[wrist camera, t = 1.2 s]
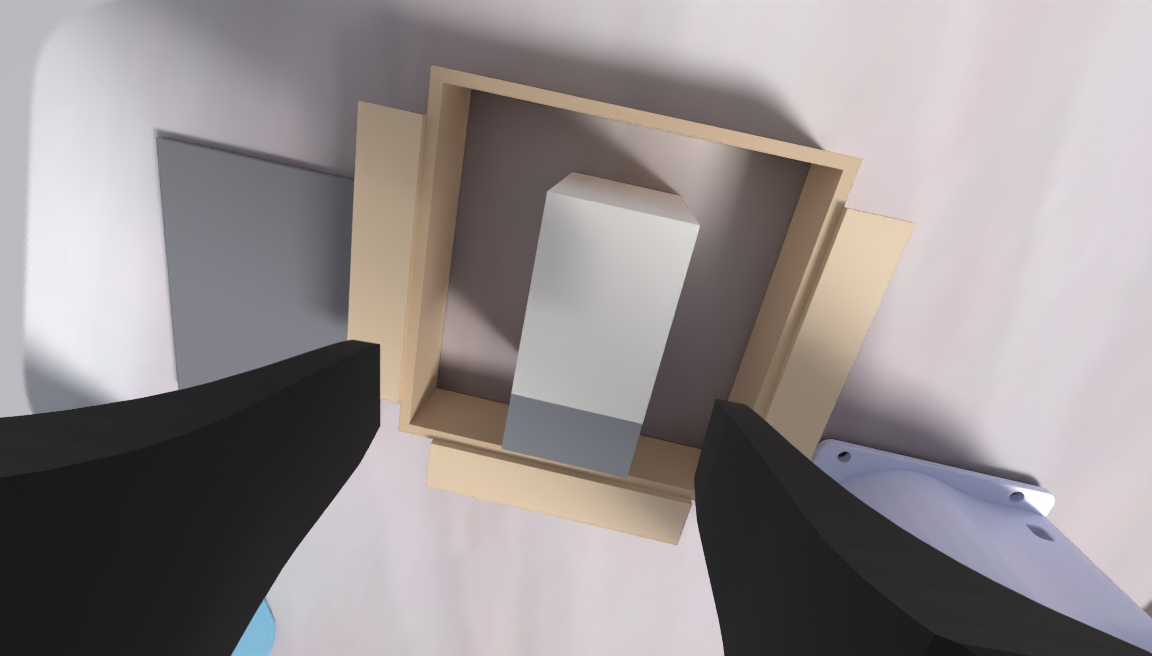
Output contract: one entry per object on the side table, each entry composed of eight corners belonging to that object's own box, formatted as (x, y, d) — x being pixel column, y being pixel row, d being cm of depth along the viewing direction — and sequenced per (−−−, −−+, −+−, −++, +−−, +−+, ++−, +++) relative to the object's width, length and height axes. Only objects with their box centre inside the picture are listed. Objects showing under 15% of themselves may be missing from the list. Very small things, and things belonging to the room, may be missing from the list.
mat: (393, 188, 20) (389, 189, 20) (376, 432, 24) (372, 437, 24) (164, 137, 20) (156, 137, 20) (185, 388, 24) (178, 392, 24)
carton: (885, 166, 18) (936, 174, 15) (747, 508, 24) (764, 565, 20) (405, 61, 18) (360, 49, 15) (379, 422, 24) (341, 465, 21)
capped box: (681, 195, 19) (700, 225, 14) (628, 388, 22) (626, 478, 17) (572, 171, 19) (547, 191, 14) (534, 367, 22) (501, 449, 17)
